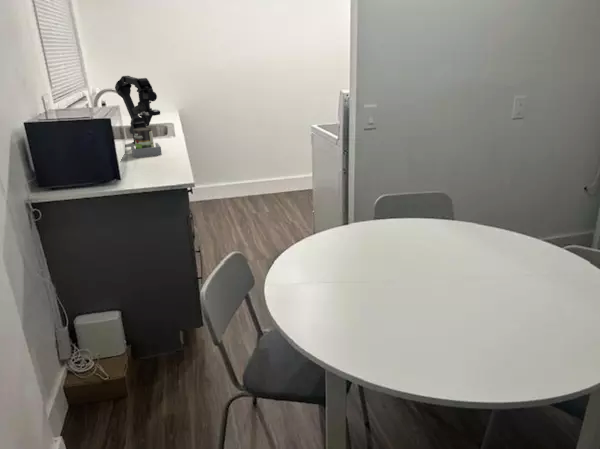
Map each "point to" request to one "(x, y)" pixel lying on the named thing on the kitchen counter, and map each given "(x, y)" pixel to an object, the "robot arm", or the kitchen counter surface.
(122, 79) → the robot arm
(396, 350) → the kitchen counter surface
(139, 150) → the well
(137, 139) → the coffee can
